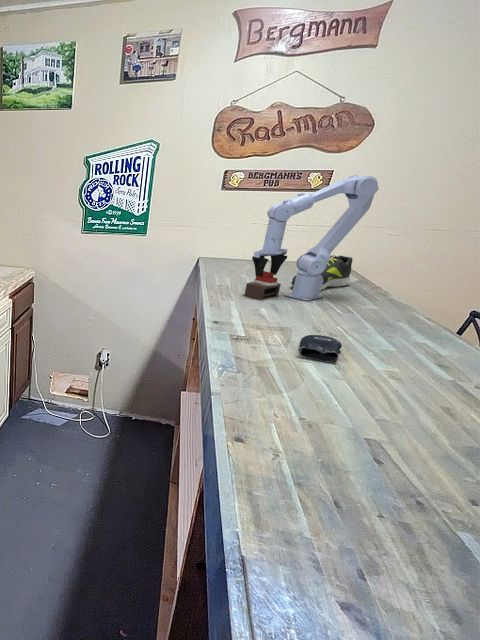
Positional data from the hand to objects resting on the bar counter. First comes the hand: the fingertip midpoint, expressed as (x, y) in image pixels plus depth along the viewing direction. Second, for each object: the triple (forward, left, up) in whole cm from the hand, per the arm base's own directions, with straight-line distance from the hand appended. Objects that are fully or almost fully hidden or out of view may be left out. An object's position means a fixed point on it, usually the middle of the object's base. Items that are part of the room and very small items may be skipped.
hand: (265, 275), depth 172 cm
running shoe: (-34, +1, -8) cm, 35 cm away
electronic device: (+38, +43, -8) cm, 58 cm away
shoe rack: (0, 0, -8) cm, 8 cm away
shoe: (0, 0, -3) cm, 3 cm away
